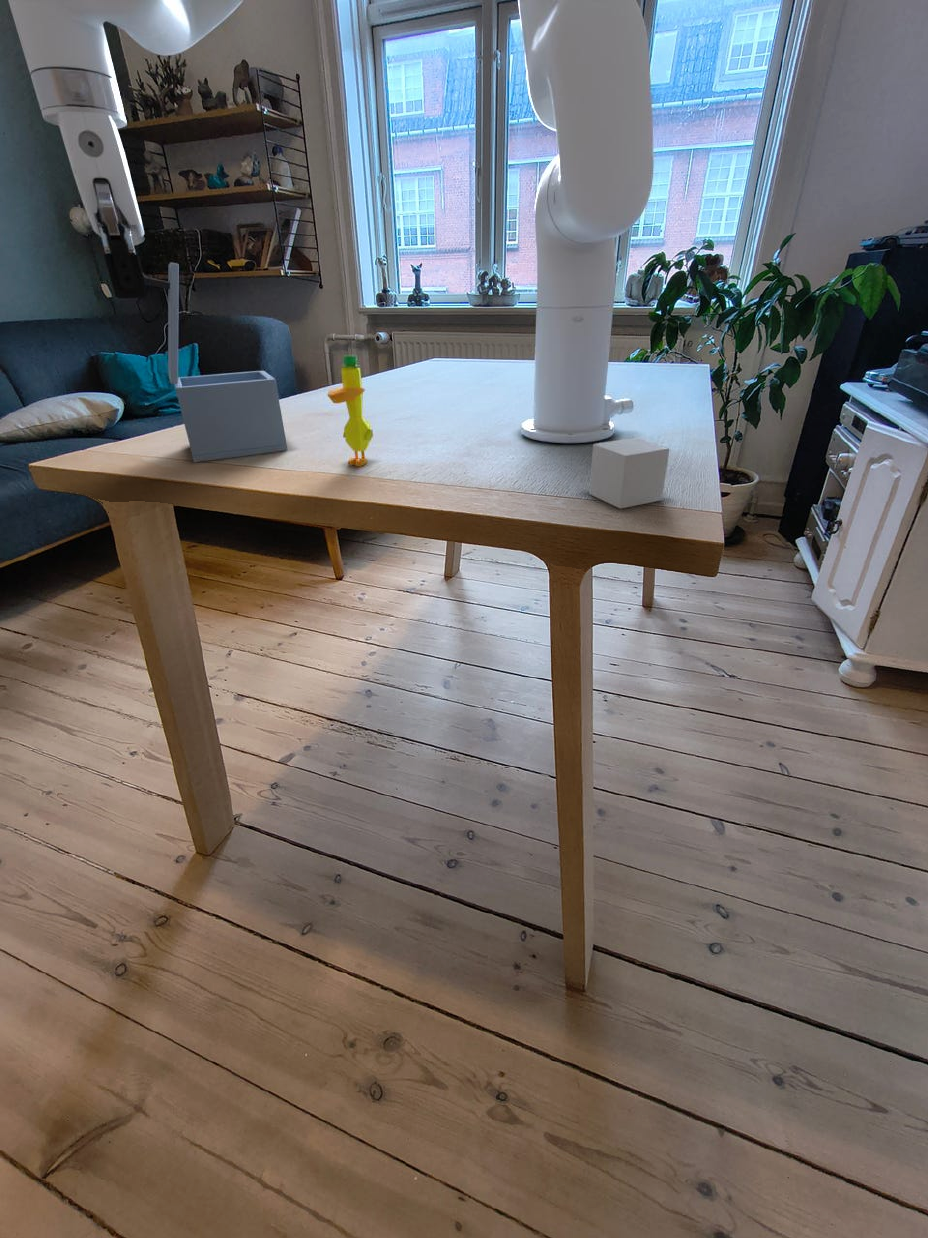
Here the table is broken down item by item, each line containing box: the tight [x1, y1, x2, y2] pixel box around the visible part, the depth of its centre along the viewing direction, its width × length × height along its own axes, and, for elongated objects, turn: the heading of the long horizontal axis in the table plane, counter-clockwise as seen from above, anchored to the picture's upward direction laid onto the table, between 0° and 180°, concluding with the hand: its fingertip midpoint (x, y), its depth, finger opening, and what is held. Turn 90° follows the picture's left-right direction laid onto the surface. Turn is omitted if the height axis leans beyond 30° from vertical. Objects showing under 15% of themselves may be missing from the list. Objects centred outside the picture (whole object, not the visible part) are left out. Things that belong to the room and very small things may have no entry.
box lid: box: [143, 262, 180, 385], centre depth 70 cm, size 12×10×5 cm
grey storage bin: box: [173, 370, 288, 463], centre depth 78 cm, size 12×10×9 cm
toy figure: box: [326, 355, 374, 467], centre depth 68 cm, size 7×4×12 cm, turn 153°
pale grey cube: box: [588, 437, 670, 510], centre depth 57 cm, size 5×5×5 cm
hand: (133, 296), depth 68 cm, fingers open, 9 cm apart
